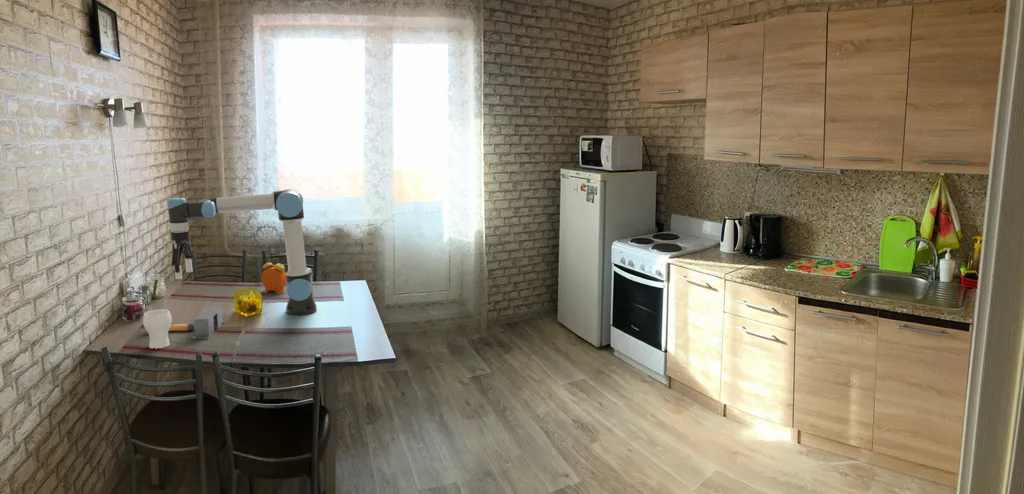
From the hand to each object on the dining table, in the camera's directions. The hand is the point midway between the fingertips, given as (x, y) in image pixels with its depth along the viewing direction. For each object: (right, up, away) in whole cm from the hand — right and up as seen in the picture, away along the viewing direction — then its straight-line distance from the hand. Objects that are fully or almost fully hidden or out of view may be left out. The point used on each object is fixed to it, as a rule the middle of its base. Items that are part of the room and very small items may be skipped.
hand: (184, 275), depth 288 cm
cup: (+2, -30, -24) cm, 38 cm away
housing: (+13, -26, -2) cm, 29 cm away
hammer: (-3, -26, -5) cm, 26 cm away
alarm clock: (+17, -13, +66) cm, 69 cm away
